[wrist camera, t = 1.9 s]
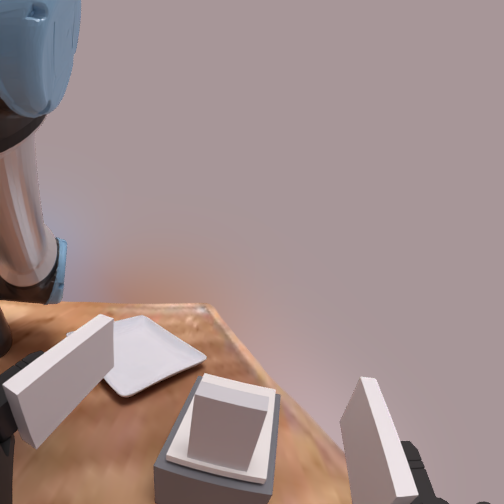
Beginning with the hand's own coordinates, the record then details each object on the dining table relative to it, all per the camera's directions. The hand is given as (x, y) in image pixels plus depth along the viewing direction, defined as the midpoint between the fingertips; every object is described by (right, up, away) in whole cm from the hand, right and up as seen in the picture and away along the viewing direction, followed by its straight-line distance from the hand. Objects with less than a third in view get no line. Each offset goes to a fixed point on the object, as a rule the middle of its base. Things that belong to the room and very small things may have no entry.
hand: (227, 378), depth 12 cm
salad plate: (-22, -16, +42) cm, 51 cm away
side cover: (-2, -15, +19) cm, 24 cm away
